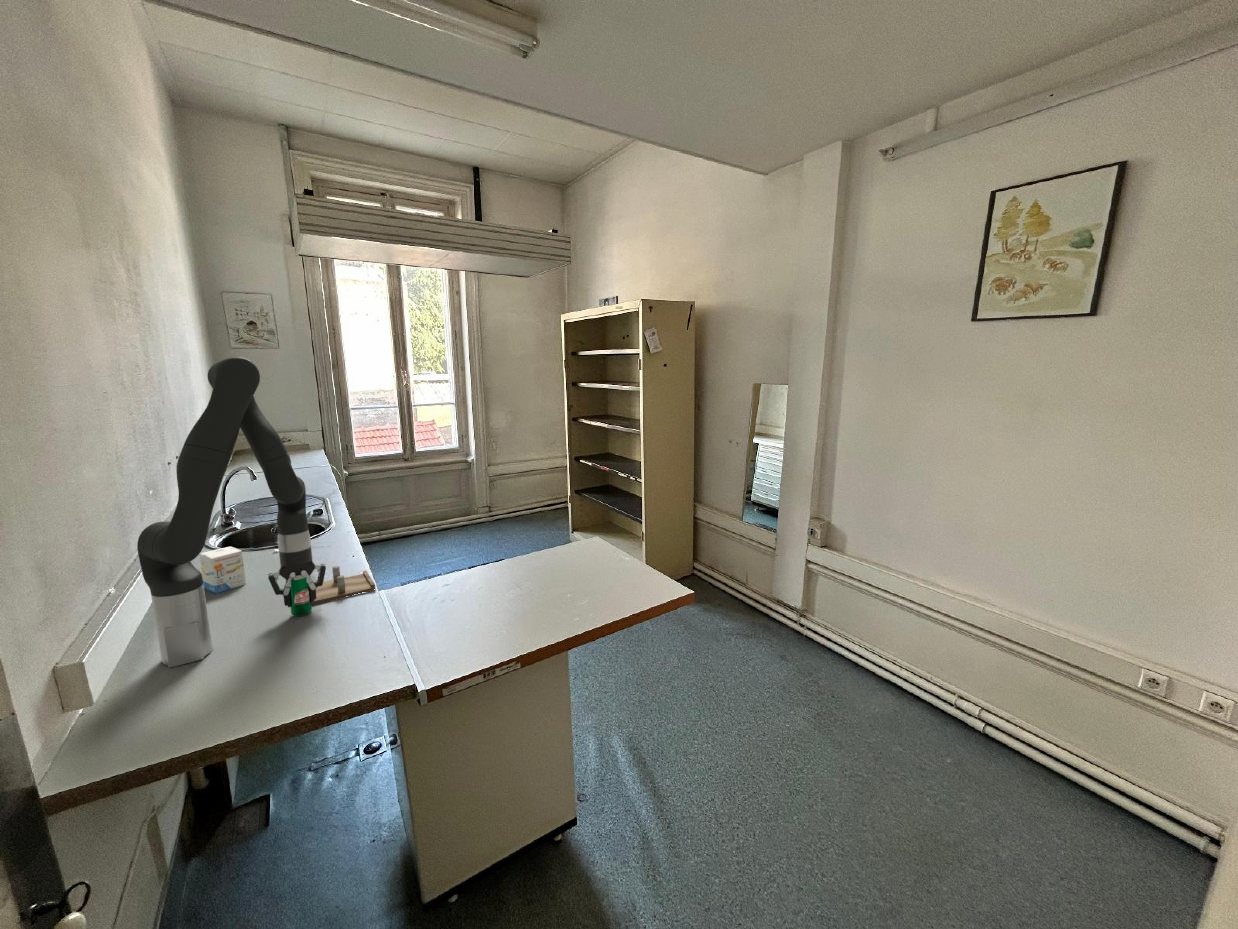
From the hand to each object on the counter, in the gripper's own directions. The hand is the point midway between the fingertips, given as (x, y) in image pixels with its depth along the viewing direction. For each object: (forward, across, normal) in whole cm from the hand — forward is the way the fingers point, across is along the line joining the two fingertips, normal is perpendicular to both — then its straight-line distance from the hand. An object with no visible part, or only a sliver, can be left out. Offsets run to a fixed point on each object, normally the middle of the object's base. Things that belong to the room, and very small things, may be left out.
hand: (301, 603), depth 138 cm
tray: (+3, +11, +11) cm, 16 cm away
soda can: (+3, 0, 0) cm, 3 cm away
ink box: (+3, -18, +36) cm, 41 cm away
